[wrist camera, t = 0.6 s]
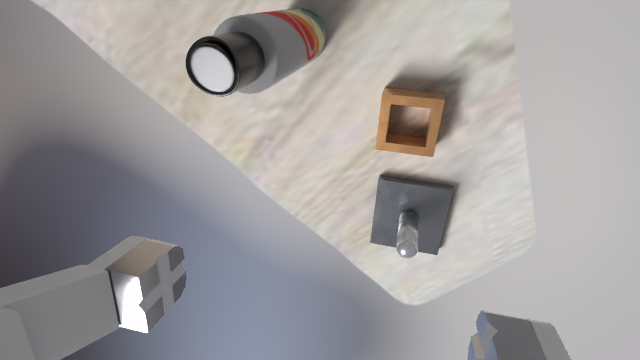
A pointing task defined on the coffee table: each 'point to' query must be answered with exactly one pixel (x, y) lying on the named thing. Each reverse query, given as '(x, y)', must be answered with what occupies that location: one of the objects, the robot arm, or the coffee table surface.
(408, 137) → the wooden square frame
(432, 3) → the coffee table surface
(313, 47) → the lotion bottle
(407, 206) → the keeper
